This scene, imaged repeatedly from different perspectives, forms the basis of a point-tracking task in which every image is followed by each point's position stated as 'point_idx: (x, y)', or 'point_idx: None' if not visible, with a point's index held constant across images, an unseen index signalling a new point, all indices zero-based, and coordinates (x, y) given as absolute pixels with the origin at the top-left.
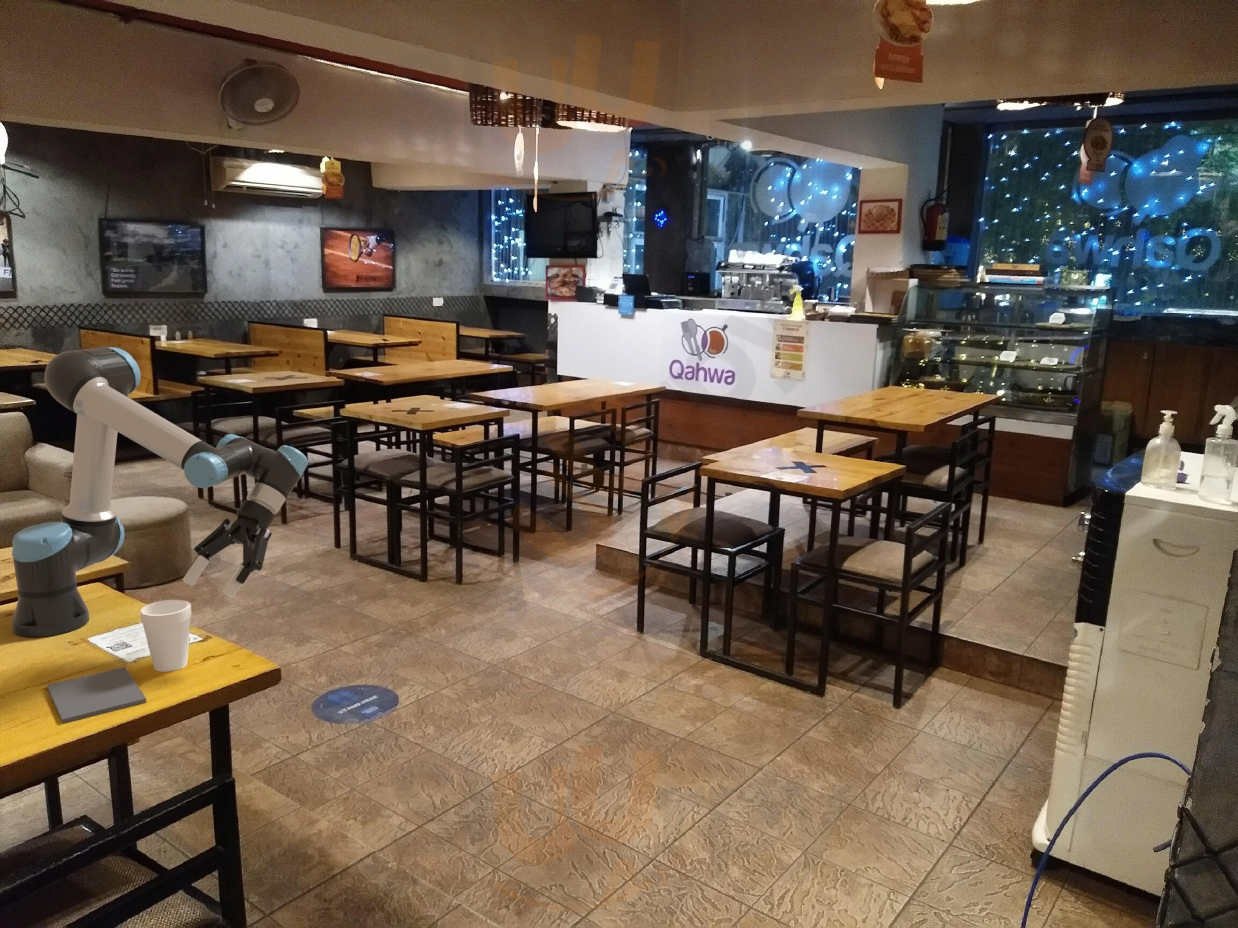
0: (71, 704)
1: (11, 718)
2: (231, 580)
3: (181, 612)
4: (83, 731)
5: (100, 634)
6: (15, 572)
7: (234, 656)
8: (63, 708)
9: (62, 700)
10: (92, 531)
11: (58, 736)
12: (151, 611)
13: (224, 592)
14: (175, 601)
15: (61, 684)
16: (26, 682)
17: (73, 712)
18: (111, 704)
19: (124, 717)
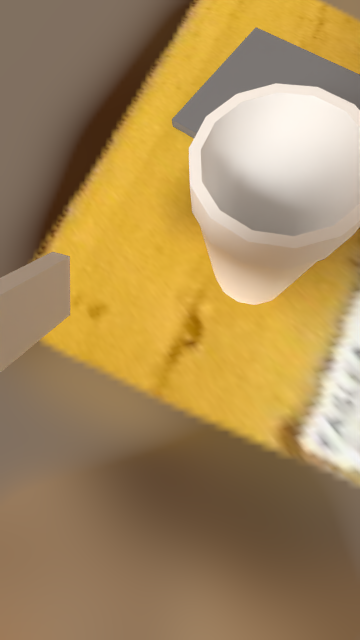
0: (289, 64)
1: (357, 21)
2: (7, 279)
3: (189, 149)
4: (198, 30)
5: None
6: None
7: (133, 357)
8: (290, 51)
9: (321, 69)
10: None
11: (224, 10)
12: (357, 182)
13: (55, 254)
14: (308, 234)
15: None
16: None
17: (259, 47)
18: (216, 84)
19: (168, 77)
